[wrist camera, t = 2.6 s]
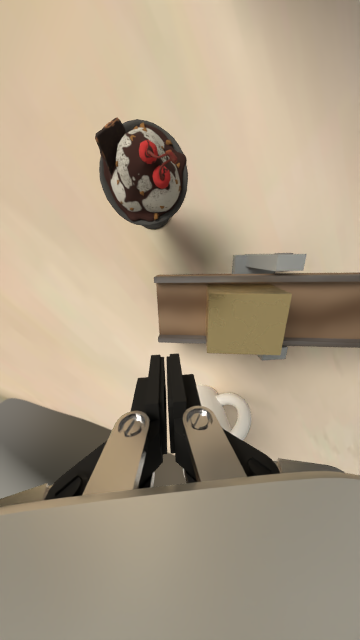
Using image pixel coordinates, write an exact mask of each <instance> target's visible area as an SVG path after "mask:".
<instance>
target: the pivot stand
mask: <svg viewBox="0 0 360 640" xmlns="http://www.w3.org/2000/svg"><path fill="white" fill-rule="evenodd" d="M305 259H306V254H293V253H275V254H245V255H233V266H232V274H275V271H302V270H303V269H304V264H305ZM287 348H288V347H287V346H282V350H281V355H258V357H259V358H260V359H261V360H275V359H285V358H286V353H287Z"/></svg>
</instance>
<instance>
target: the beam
mask: <svg viewBox="0 0 360 640" xmlns="http://www.w3.org/2000/svg"><path fill="white" fill-rule="evenodd" d="M154 283H156V285H157V300H158V316H159V331H160V335H159V337H158V342H168V343H206V302H207V285H250V284H271V285H273V286H276V287H278V288H280V289H282V290H285V291H287V292H289V293H291V294H292V297H291V302H290V307H289V313H288V318H287V323H286V328H285V334H284V339H283V344H282V346H318V347H356V348H360V273H284V274H191V275H157V276H156V277H154Z"/></svg>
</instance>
